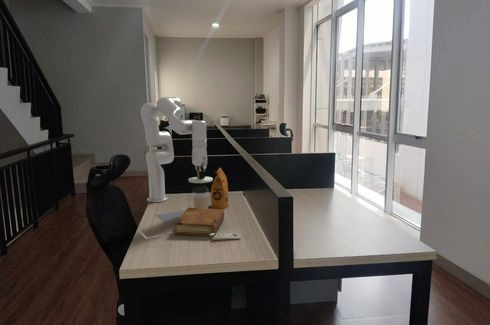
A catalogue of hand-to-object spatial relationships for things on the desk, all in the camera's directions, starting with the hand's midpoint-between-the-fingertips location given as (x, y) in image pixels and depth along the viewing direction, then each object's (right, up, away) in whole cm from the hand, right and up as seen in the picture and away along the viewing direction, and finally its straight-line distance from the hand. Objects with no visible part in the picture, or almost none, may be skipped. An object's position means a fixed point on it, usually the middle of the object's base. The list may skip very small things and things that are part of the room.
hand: (200, 177), depth 200 cm
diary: (+2, -23, -20) cm, 30 cm away
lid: (0, -2, 0) cm, 2 cm away
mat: (-13, -21, -4) cm, 25 cm away
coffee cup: (0, -20, +3) cm, 20 cm away
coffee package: (+9, -18, +17) cm, 26 cm away
